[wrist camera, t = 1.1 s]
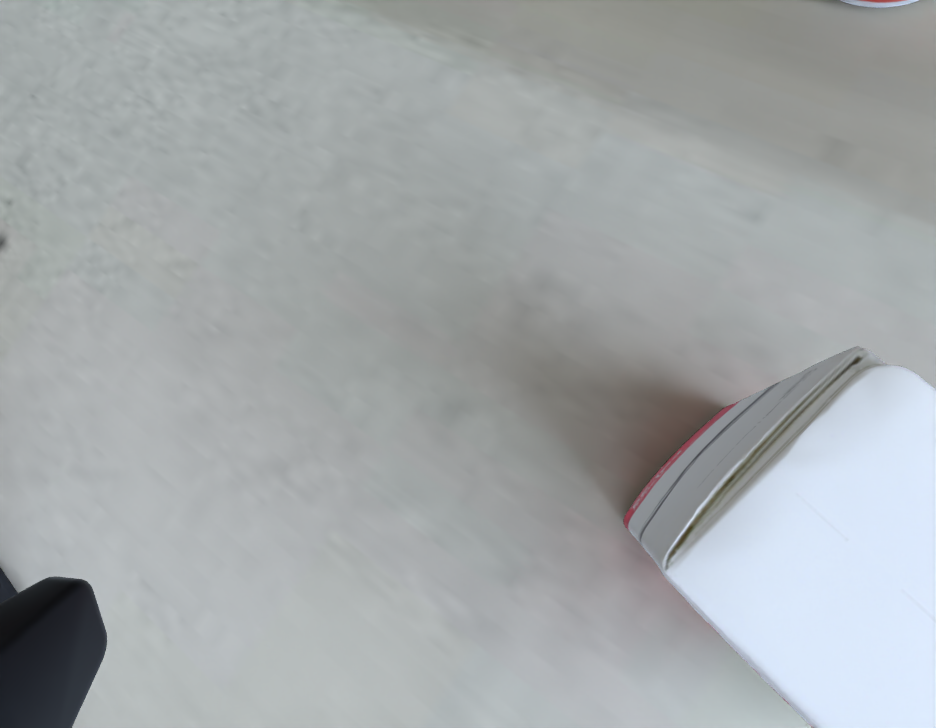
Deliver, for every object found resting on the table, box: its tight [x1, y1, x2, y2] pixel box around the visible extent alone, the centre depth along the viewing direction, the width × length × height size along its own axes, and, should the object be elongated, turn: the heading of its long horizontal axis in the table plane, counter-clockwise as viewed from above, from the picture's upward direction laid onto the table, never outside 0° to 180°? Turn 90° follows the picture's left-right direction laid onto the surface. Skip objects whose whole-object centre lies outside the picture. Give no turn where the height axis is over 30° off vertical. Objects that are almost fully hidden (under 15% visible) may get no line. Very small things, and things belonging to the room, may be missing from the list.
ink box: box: [624, 346, 936, 728], centre depth 17 cm, size 9×5×12 cm, turn 45°
